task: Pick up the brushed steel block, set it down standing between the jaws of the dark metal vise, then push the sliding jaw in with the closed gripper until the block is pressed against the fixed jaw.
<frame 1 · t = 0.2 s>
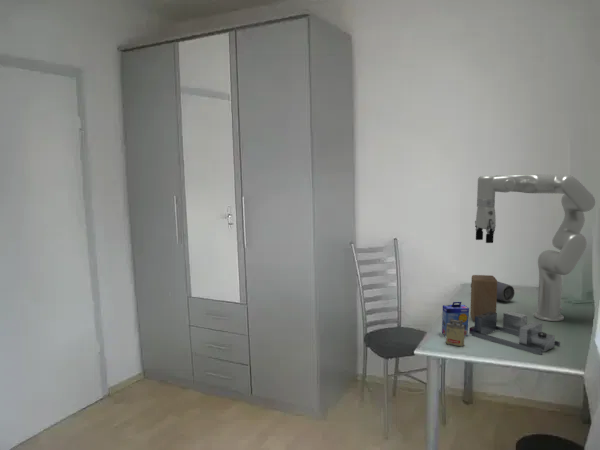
hand: (484, 241, 228), 37 cm above the table, tool pointing down, fingers open, 9 cm apart
ink cartridge box: (454, 334, 213), on the table
vise: (505, 337, 208), on the table
block: (482, 319, 233), on the table
steel block: (514, 329, 218), on the table
sliding jaw: (538, 336, 197), point 4 cm above the table, slide at 0.0 cm
lighter: (455, 344, 201), on the table
bluetooth speaker: (491, 298, 271), on the table
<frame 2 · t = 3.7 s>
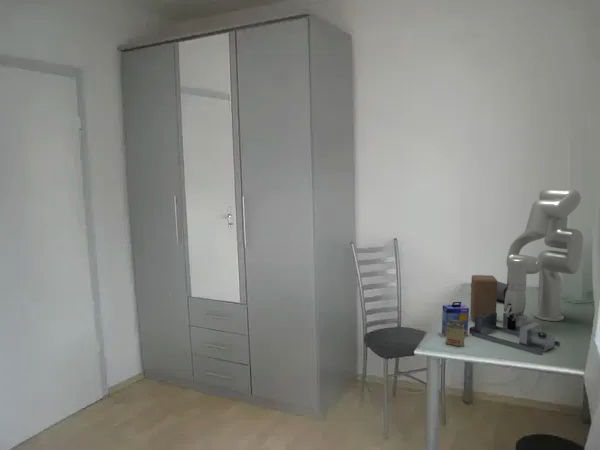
hand: (514, 327, 218), 1 cm above the table, tool pointing down, fingers closed on steel block, 5 cm apart
steel block: (514, 329, 218), on the table, touching gripper
everything else where it was.
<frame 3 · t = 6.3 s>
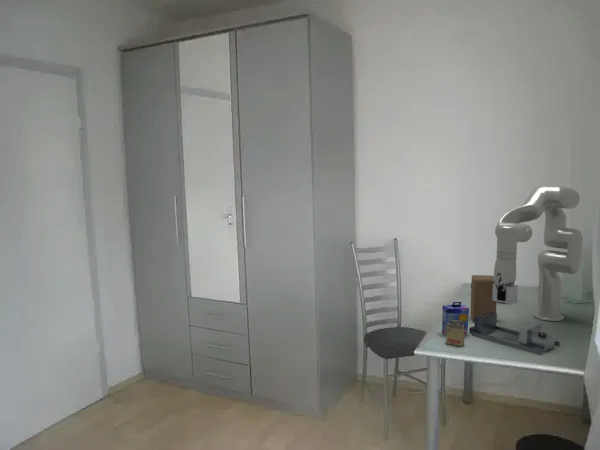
hand: (504, 298, 207), 16 cm above the table, tool pointing down, fingers closed on steel block, 5 cm apart
steel block: (504, 301, 207), point 15 cm above the table, touching gripper
everything else where it was.
when the fingers open (2 cm above the table, at t = 9.1 s): steel block drops 1 cm, resting in vise.
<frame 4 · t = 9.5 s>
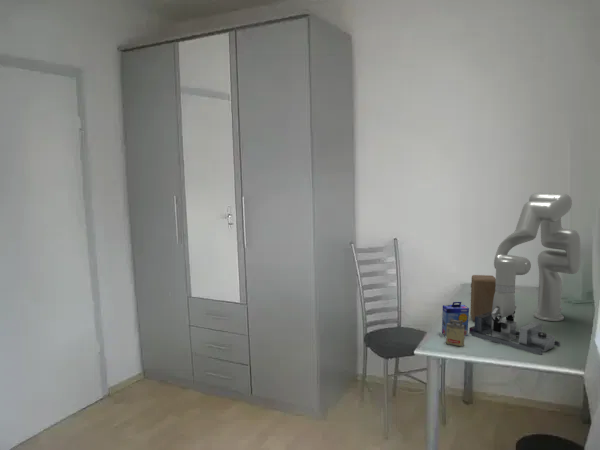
hand: (503, 329, 208), 3 cm above the table, tool pointing down, fingers open, 9 cm apart
steel block: (503, 337, 209), resting in vise
everything else where it was.
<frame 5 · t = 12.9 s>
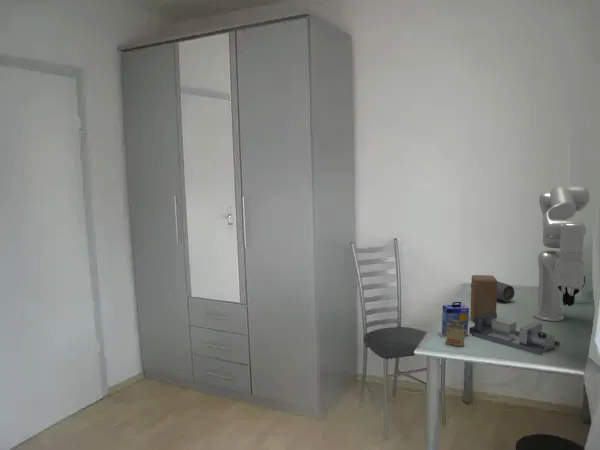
hand: (568, 304, 187), 19 cm above the table, tool pointing down, fingers closed
nothing on the table moved.
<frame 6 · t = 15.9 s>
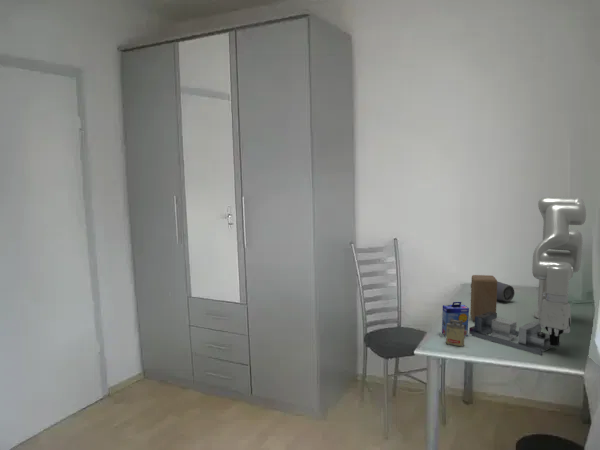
hand: (554, 344, 192), 3 cm above the table, tool pointing down, fingers closed
sliding jaw: (537, 336, 197), point 4 cm above the table, slide at 0.4 cm, touching gripper
everything else where it was.
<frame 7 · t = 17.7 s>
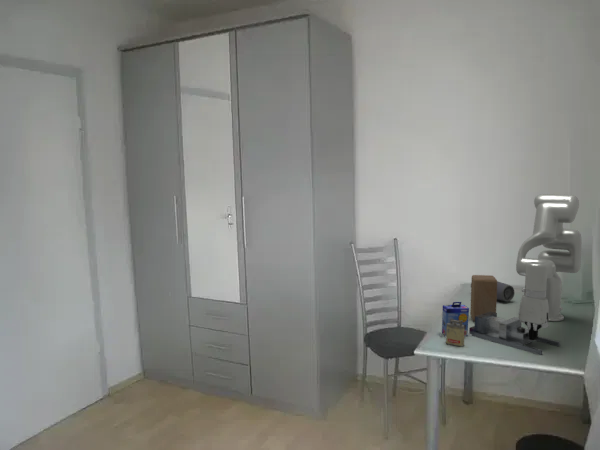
hand: (533, 339, 199), 3 cm above the table, tool pointing down, fingers closed
steel block: (497, 335, 211), resting in vise, touching sliding jaw
sliding jaw: (517, 331, 204), point 4 cm above the table, slide at 8.5 cm, touching gripper, steel block
everything else where it was.
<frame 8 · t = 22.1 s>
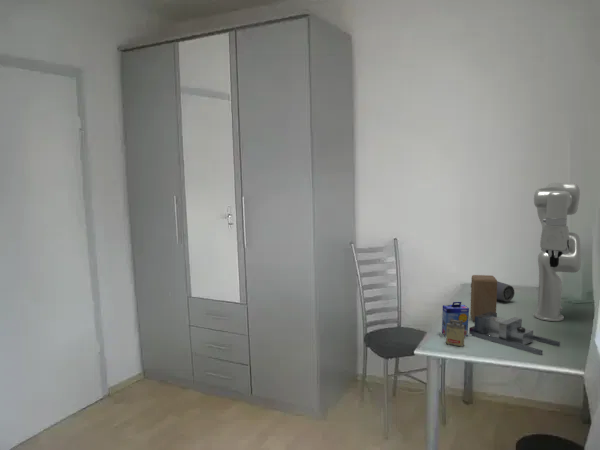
hand: (553, 266, 208), 29 cm above the table, tool pointing down, fingers closed
steel block: (497, 335, 211), resting in vise
sliding jaw: (517, 331, 204), point 4 cm above the table, slide at 8.5 cm
everything else where it was.
at the end: steel block inside the target area on the vise (0.8 cm from its centre), point 0.0 cm above the vise's base; steel block tilted 0°; sliding jaw slide at 8.5 cm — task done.
